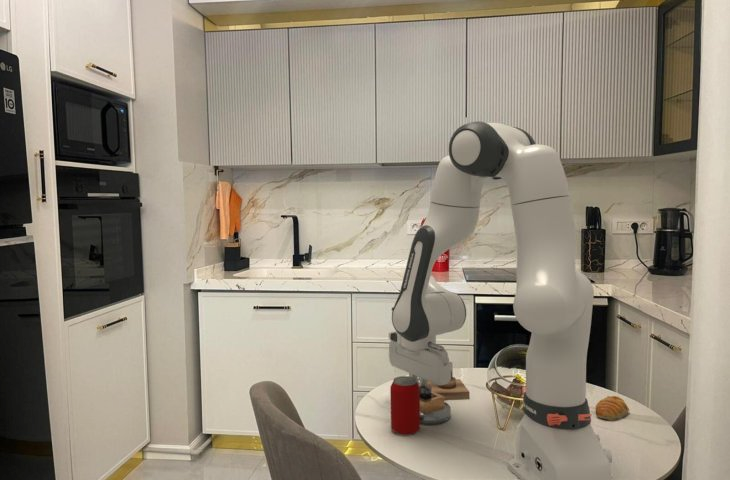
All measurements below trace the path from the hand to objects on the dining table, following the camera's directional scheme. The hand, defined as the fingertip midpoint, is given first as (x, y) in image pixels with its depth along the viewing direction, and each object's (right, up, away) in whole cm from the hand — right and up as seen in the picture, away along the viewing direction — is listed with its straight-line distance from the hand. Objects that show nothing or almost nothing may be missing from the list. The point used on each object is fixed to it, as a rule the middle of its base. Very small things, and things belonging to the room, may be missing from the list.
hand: (418, 391), depth 127 cm
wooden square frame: (+2, -3, -2) cm, 4 cm away
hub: (+2, -5, -2) cm, 6 cm away
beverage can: (-4, -6, -10) cm, 13 cm away
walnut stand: (+9, -4, +13) cm, 16 cm away
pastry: (+47, -5, -3) cm, 48 cm away
